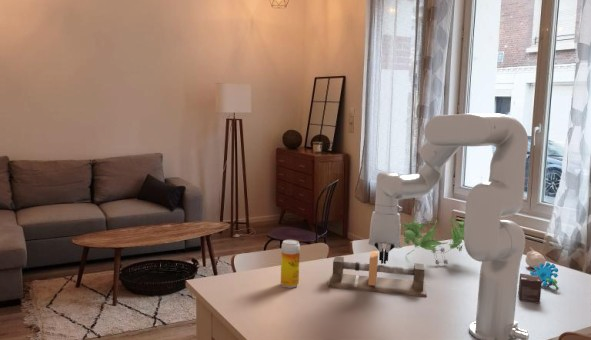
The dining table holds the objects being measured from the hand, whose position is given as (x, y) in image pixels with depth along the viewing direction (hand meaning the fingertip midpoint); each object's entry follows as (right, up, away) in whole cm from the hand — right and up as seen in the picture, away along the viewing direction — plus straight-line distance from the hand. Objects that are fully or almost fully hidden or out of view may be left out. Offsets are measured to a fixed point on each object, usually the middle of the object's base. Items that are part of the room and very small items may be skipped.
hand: (383, 262), depth 169 cm
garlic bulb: (+63, -7, +25) cm, 68 cm away
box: (+46, -11, -6) cm, 48 cm away
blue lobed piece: (+57, -9, +7) cm, 59 cm away
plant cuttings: (+25, -5, +29) cm, 39 cm away
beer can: (-32, -8, -1) cm, 33 cm away
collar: (-3, -6, +2) cm, 7 cm away
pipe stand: (-2, -8, +1) cm, 8 cm away
